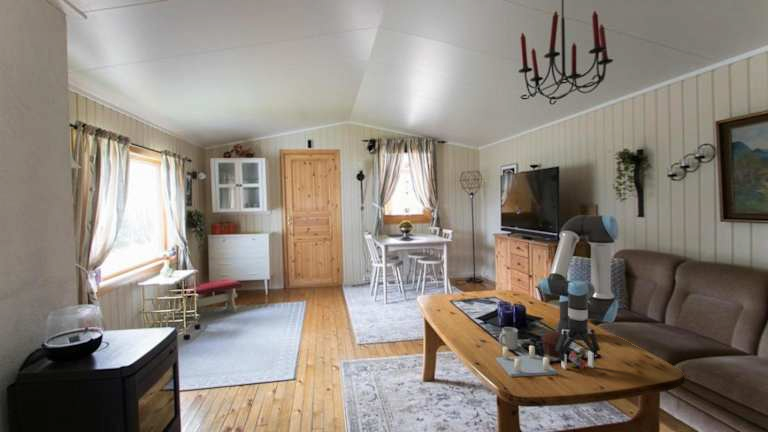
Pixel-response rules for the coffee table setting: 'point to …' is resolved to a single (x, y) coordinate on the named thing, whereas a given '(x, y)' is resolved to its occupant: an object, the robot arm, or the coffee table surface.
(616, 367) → the coffee table surface
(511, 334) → the cup
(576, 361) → the geometric puzzle
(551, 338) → the muffin
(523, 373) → the peg board
